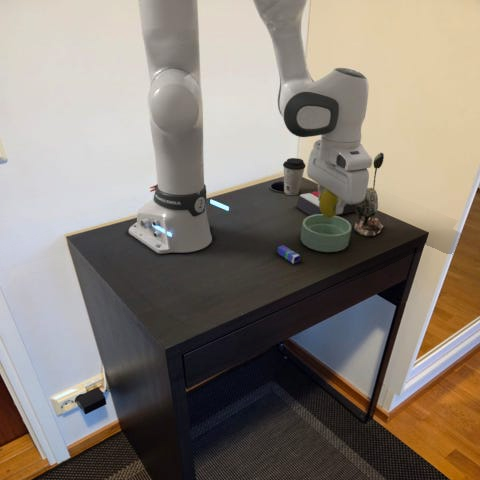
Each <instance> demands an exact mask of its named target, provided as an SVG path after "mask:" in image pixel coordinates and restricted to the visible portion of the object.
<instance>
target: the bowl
mask: <svg viewBox="0 0 480 480" xmlns="http://www.w3.org/2000/svg"><path fill="white" fill-rule="evenodd" d="M352 228H353V227H352V224H351V223H350V221H348V220H347V219H346V218H344V217H341V216H339V215H337V216H333V217H331V218H327V217H326V216H324V215H323V214H316V215H312V216H310V215H309V216H306V217H305V218H304V219H303V221H302V225H301V231H300V232H301V233H300V241H301V243H302V245H304V246H306V247H307V248H309V249H311V250H314V251H317V252H324V253H336V252H339V251H343V250H345V249H346V248H347V247H348V246H349V242H350V238H351V232H352Z"/></svg>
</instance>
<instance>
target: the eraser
mask: <svg viewBox="0 0 480 480" xmlns="http://www.w3.org/2000/svg"><path fill="white" fill-rule="evenodd" d="M277 254H278V255H279V256H281V257H282V258H284V259H285V260H286V261H289V262H290V263H291V264H293V265H294V264H296V263H299V262H300V260H301V259H300V258H301V255H300V254H299V253H298V252H295V251H293V250H292V249H290V248H289V247H287V246H286V245H284V244H282V245H279V246H277Z"/></svg>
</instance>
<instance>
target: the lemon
mask: <svg viewBox="0 0 480 480" xmlns="http://www.w3.org/2000/svg"><path fill="white" fill-rule="evenodd" d="M338 202H339V201H338V196H336V195H335V194H333V193H332V192H330V191H329V190H327V189H326V190H325V191H324V192H323V194H322V195H321V198H320V202H319V208H320V211H321V213H322V214H323V215H324V216H326V217H327V218H331V217H333V216H335V215H337V214H336V213H335V212H334V211H333V210H334V205H337V204H338ZM337 216H338V215H337Z"/></svg>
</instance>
